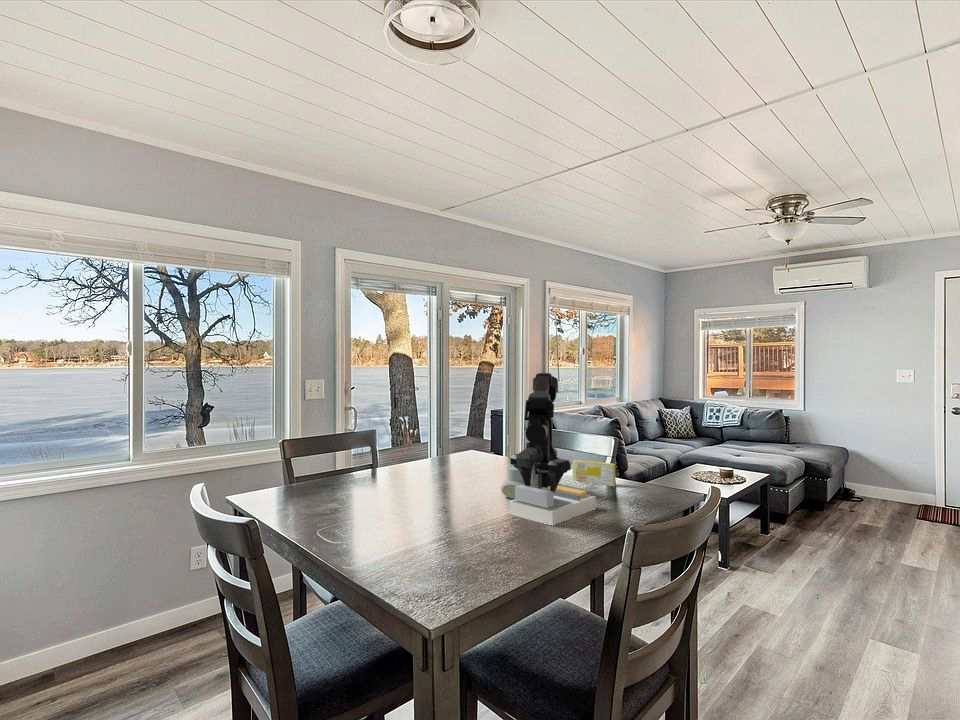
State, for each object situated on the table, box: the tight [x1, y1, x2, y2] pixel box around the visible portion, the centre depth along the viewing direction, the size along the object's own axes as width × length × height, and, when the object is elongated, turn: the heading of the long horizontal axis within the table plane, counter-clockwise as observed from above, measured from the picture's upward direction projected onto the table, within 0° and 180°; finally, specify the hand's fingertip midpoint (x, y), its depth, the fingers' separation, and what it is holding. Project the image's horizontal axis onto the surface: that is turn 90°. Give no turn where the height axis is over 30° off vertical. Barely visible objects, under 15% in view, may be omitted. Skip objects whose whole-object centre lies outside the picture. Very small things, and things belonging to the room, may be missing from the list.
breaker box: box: [509, 483, 597, 527], centre depth 155 cm, size 16×22×6 cm
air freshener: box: [500, 465, 534, 500], centre depth 172 cm, size 11×8×10 cm
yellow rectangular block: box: [548, 485, 587, 498], centre depth 160 cm, size 12×4×2 cm, turn 45°
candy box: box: [571, 459, 616, 488], centre depth 189 cm, size 16×2×8 cm, turn 58°
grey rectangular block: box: [515, 485, 554, 508], centre depth 149 cm, size 12×3×4 cm, turn 45°
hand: (539, 491), depth 151 cm, fingers open, 9 cm apart
